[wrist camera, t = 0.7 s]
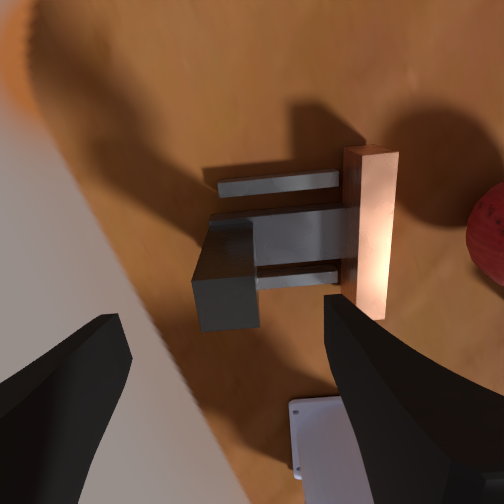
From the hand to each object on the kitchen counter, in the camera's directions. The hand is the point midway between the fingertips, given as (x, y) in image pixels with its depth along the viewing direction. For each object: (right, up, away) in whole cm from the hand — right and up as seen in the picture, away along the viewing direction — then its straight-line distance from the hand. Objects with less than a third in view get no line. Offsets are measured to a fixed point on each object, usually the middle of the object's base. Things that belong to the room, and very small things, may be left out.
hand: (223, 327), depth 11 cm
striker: (+3, +4, +8) cm, 9 cm away
